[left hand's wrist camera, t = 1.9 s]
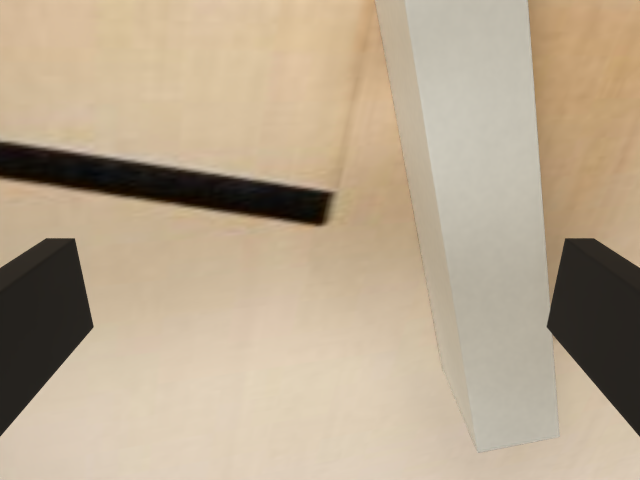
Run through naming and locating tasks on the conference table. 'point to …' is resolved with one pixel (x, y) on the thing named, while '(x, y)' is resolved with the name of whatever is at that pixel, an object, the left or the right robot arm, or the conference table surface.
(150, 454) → the conference table surface
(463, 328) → the bar
